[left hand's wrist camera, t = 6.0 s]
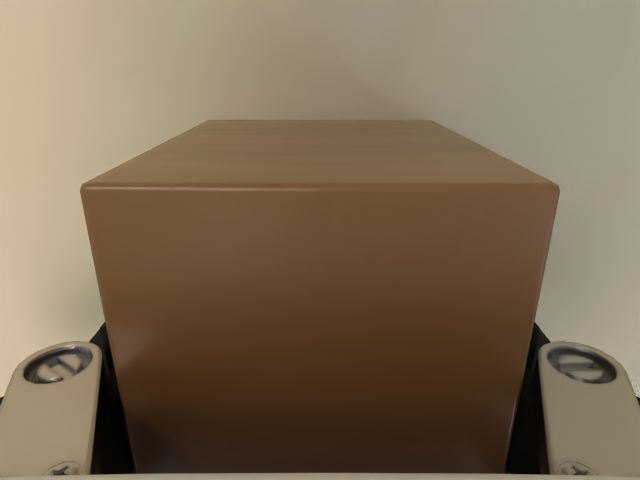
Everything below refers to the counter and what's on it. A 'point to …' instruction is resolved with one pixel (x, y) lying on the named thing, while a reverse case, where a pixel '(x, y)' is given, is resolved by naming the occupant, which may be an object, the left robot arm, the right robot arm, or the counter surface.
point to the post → (319, 296)
